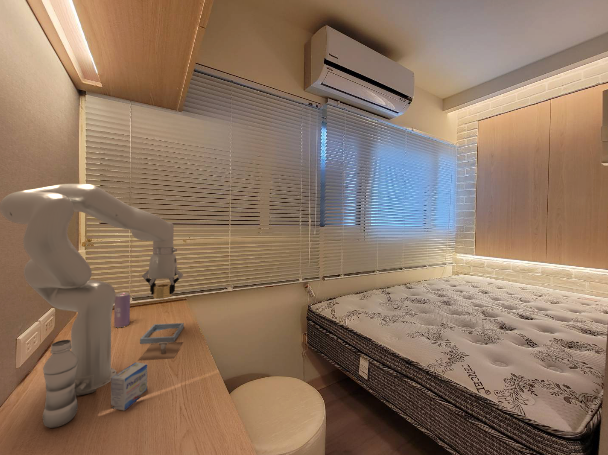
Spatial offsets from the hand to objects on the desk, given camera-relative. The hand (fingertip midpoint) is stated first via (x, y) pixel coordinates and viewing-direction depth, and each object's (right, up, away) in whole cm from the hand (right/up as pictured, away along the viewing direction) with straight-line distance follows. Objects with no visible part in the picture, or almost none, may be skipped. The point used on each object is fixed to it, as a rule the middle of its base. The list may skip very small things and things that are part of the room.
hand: (162, 293), depth 109 cm
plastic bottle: (-1, -21, -44) cm, 49 cm away
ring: (0, -1, +2) cm, 2 cm away
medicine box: (+10, -21, -36) cm, 43 cm away
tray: (-1, -20, +3) cm, 20 cm away
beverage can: (-26, -19, +13) cm, 35 cm away
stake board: (+6, -20, -10) cm, 23 cm away
